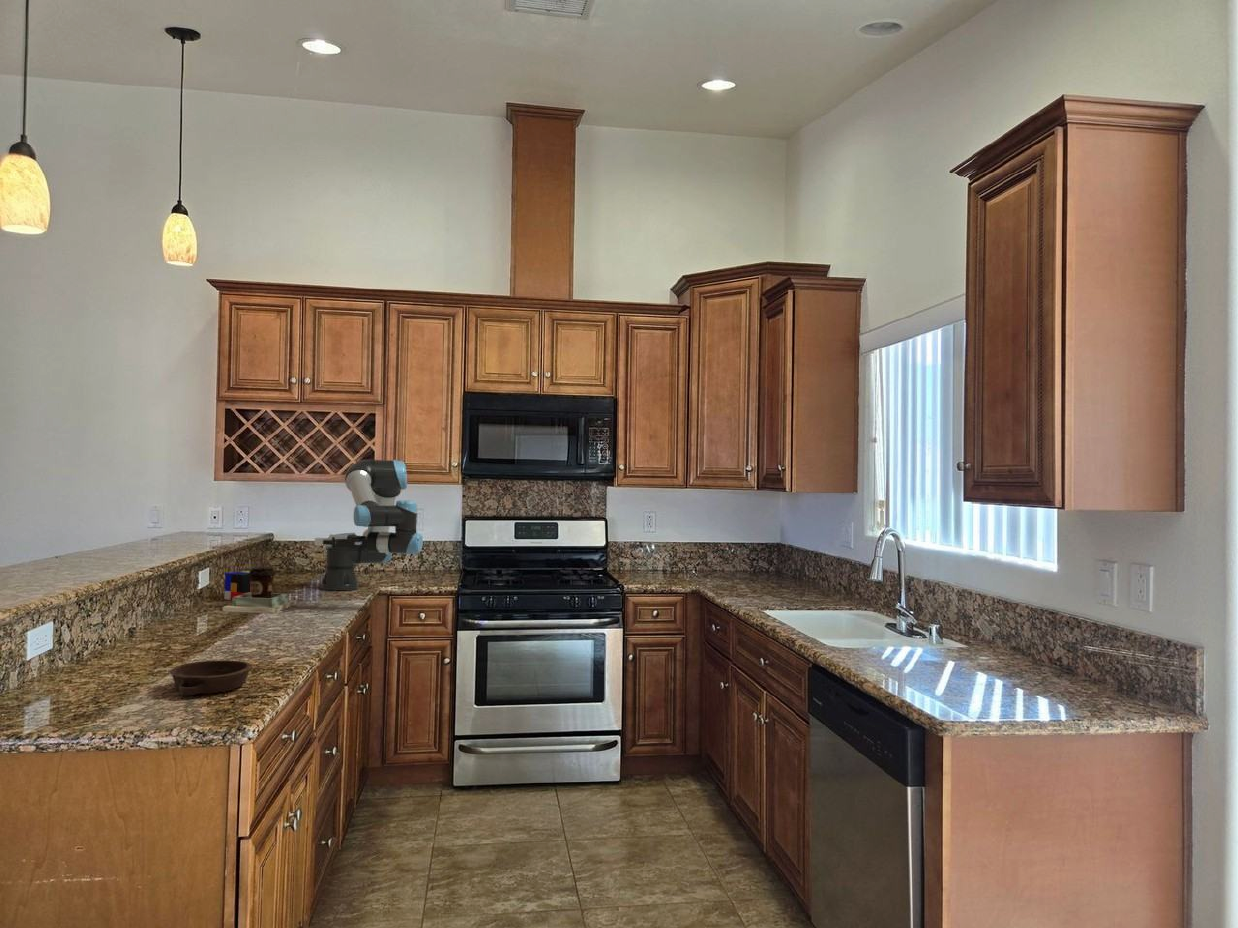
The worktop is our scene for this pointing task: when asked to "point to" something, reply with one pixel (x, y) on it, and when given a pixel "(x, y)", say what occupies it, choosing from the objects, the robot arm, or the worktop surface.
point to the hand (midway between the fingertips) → (322, 539)
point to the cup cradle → (259, 603)
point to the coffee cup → (261, 582)
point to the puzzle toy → (237, 584)
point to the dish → (209, 676)
